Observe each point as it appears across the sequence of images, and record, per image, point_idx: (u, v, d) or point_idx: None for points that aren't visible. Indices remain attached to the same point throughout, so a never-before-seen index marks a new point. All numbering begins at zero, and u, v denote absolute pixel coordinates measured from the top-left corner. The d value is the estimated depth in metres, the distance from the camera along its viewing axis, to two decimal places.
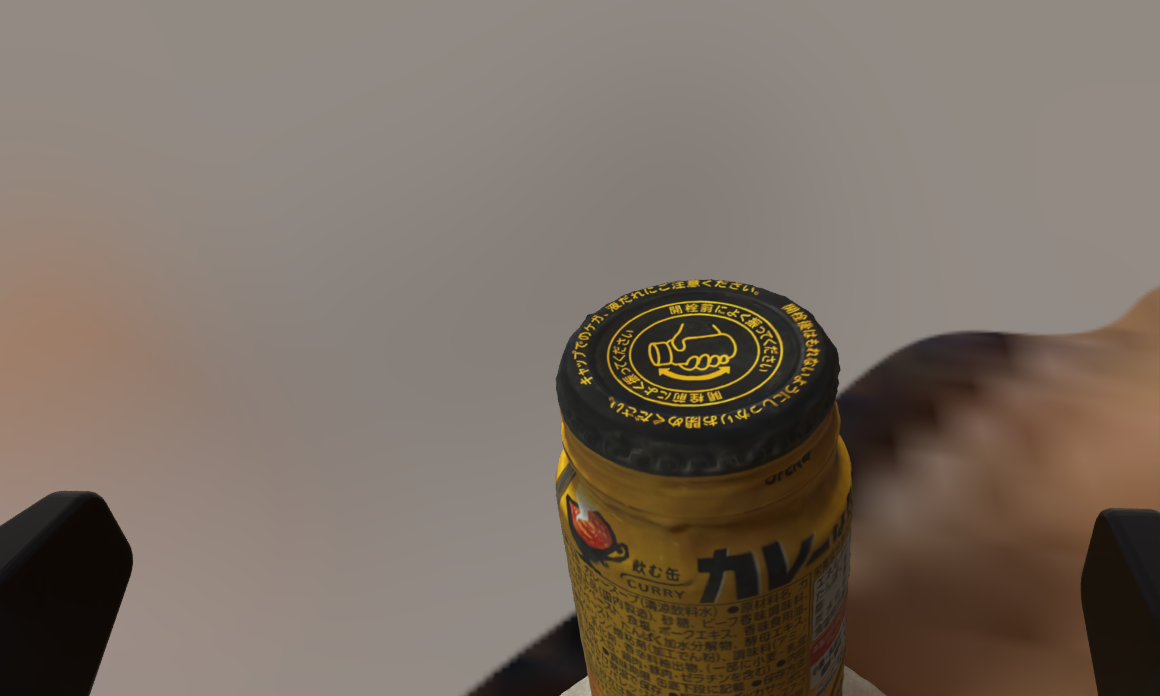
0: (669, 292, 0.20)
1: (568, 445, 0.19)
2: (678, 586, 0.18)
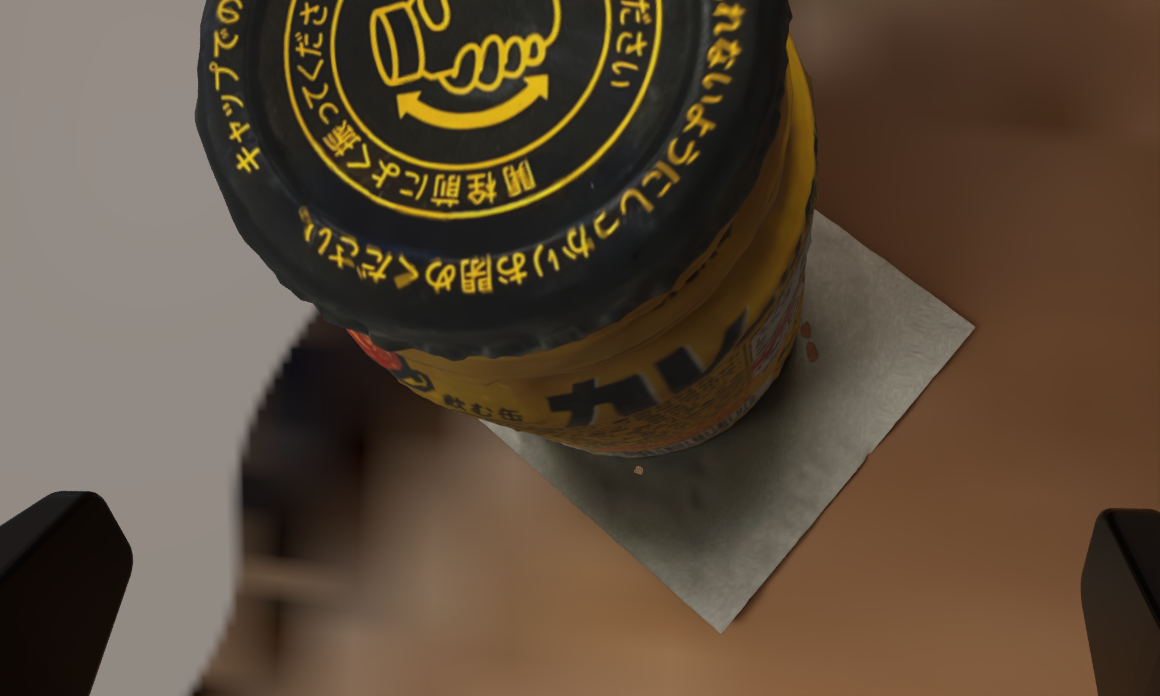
0: None
1: None
2: (524, 423, 0.11)
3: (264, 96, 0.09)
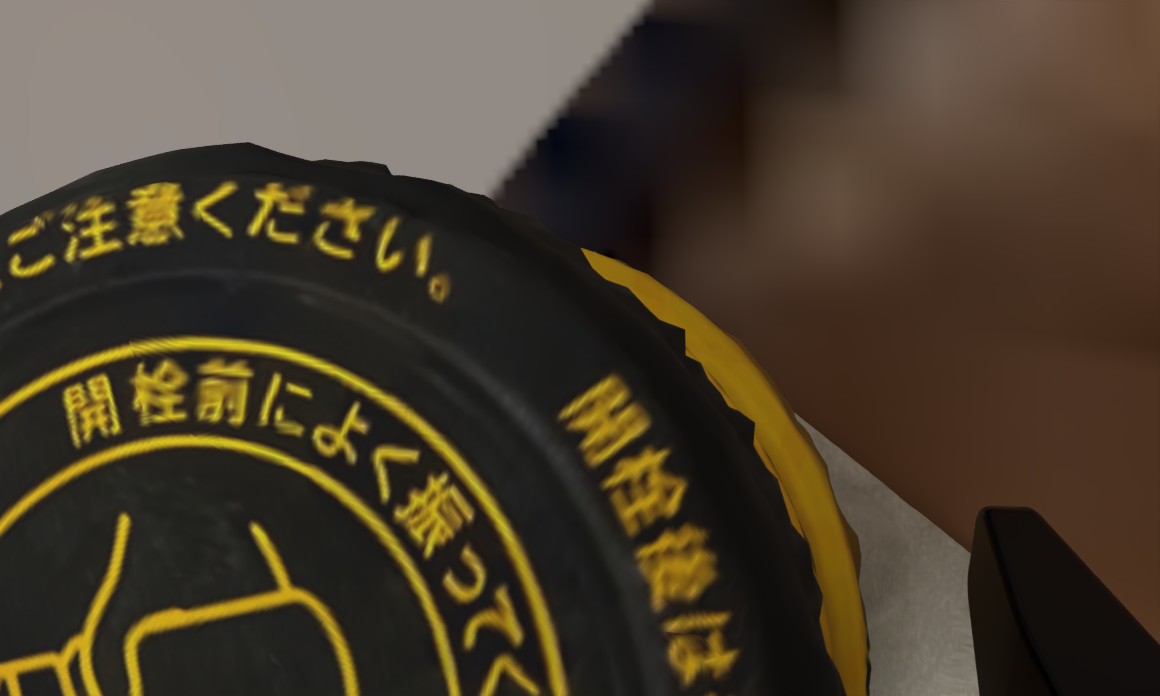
0: (56, 286, 0.04)
1: None
2: None
3: None
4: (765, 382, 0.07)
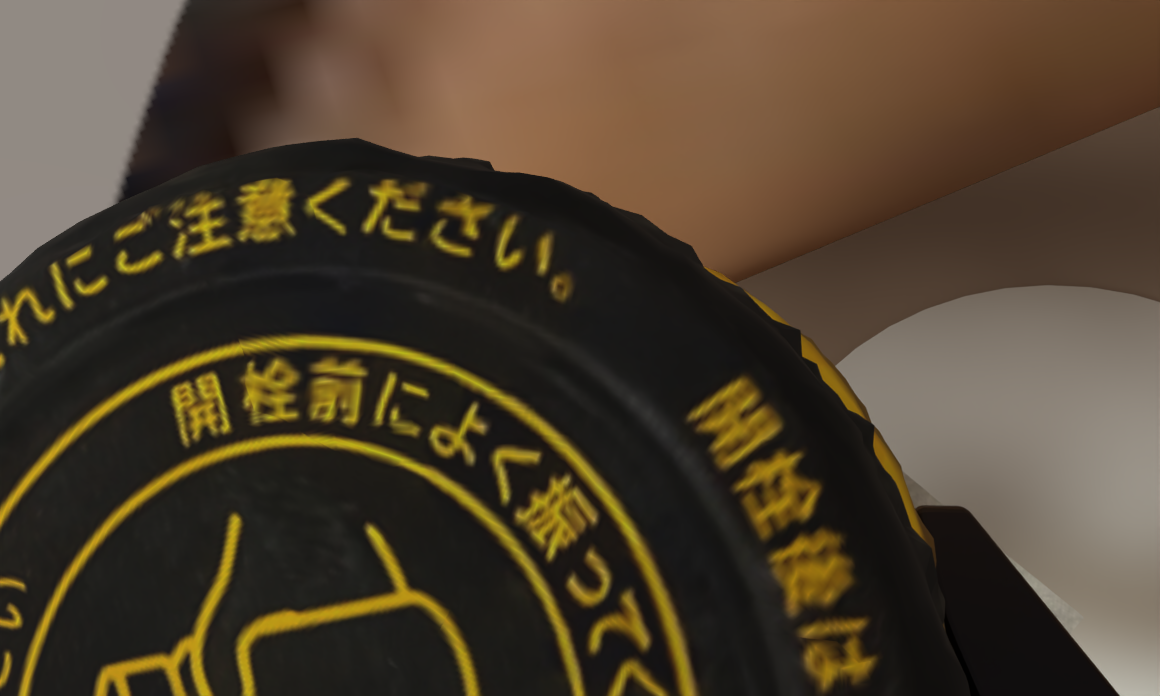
0: (164, 283, 0.04)
1: None
2: None
3: None
4: (841, 382, 0.07)
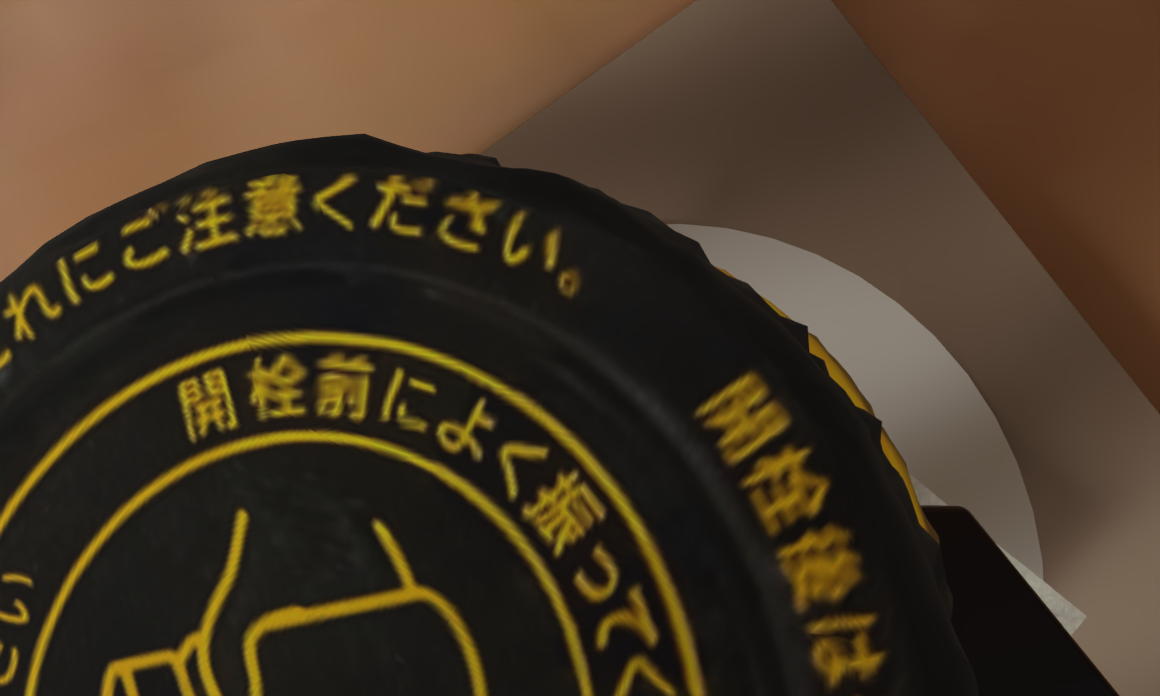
0: (170, 279, 0.04)
1: None
2: None
3: None
4: (846, 380, 0.07)
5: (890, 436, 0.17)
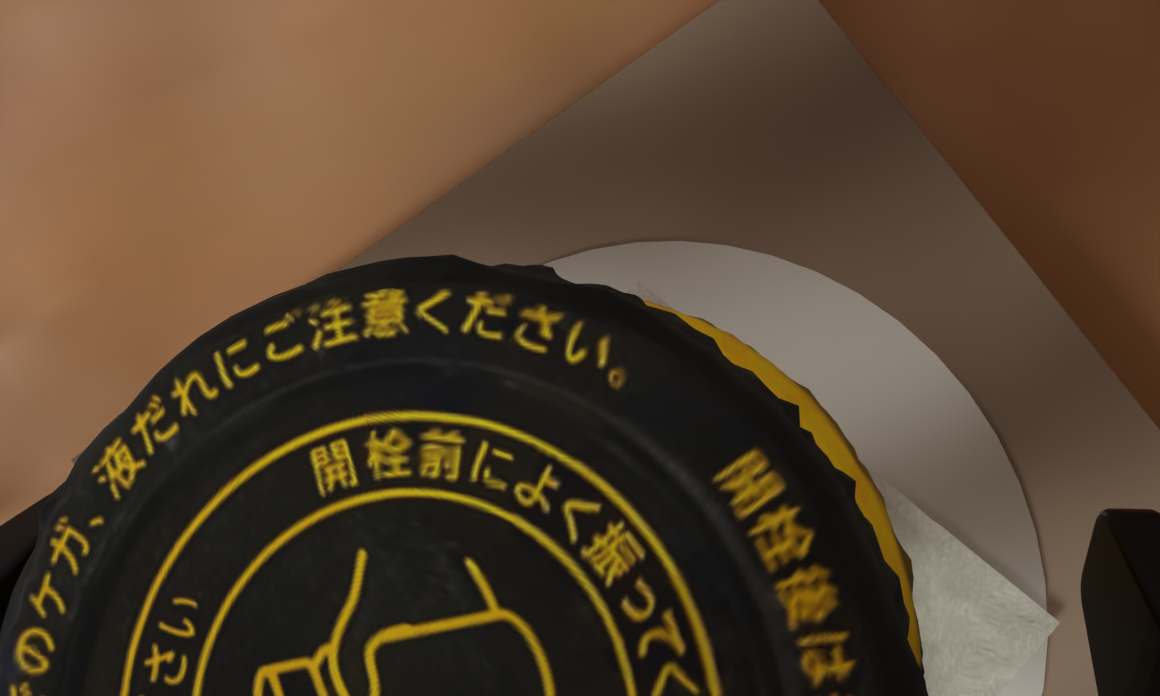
0: (304, 369, 0.06)
1: None
2: None
3: None
4: (833, 428, 0.08)
5: (891, 456, 0.16)
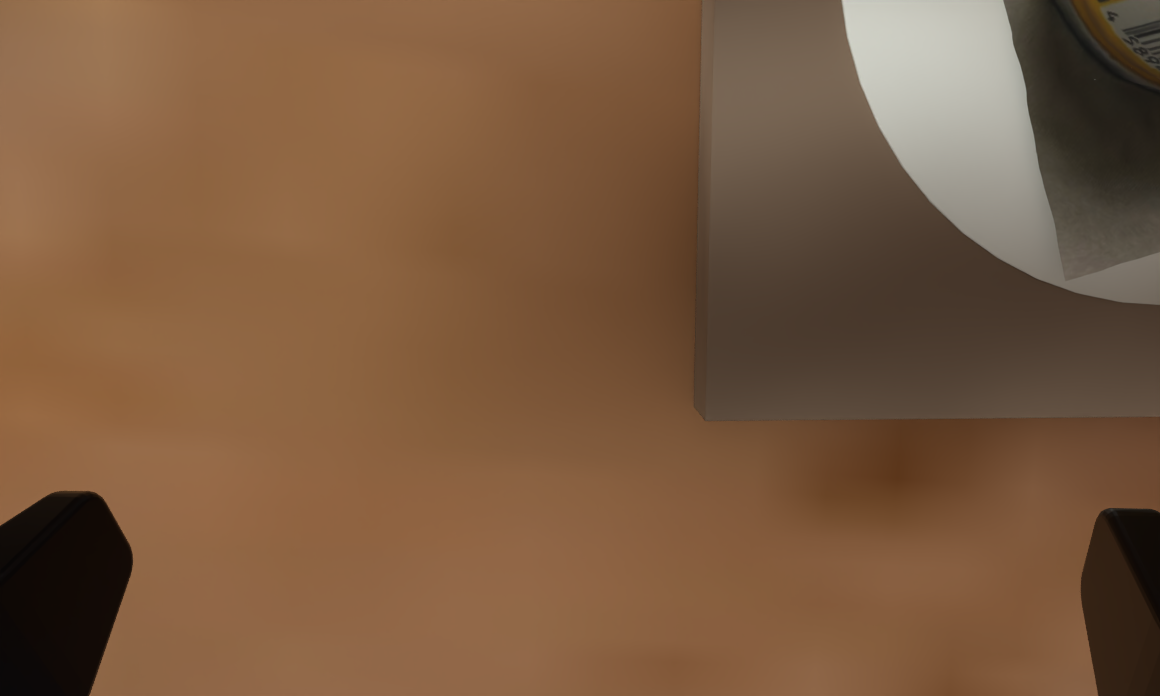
0: None
1: None
2: None
3: None
4: None
5: None
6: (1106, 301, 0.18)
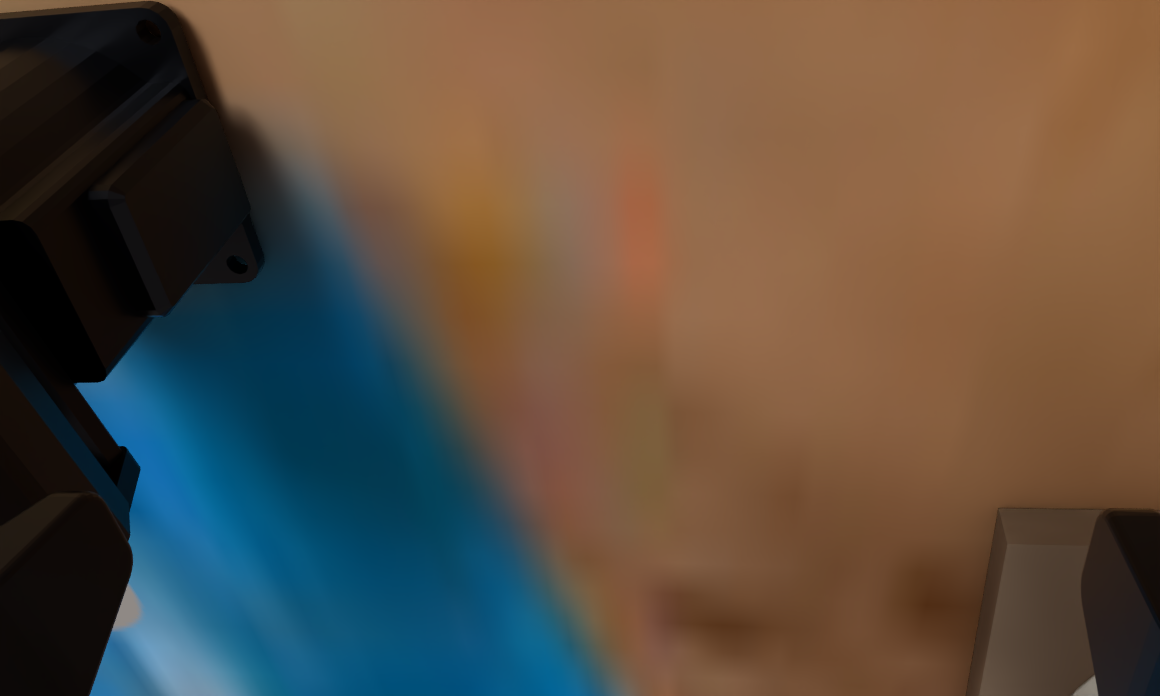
0: None
1: None
2: None
3: None
4: None
5: None
6: None
